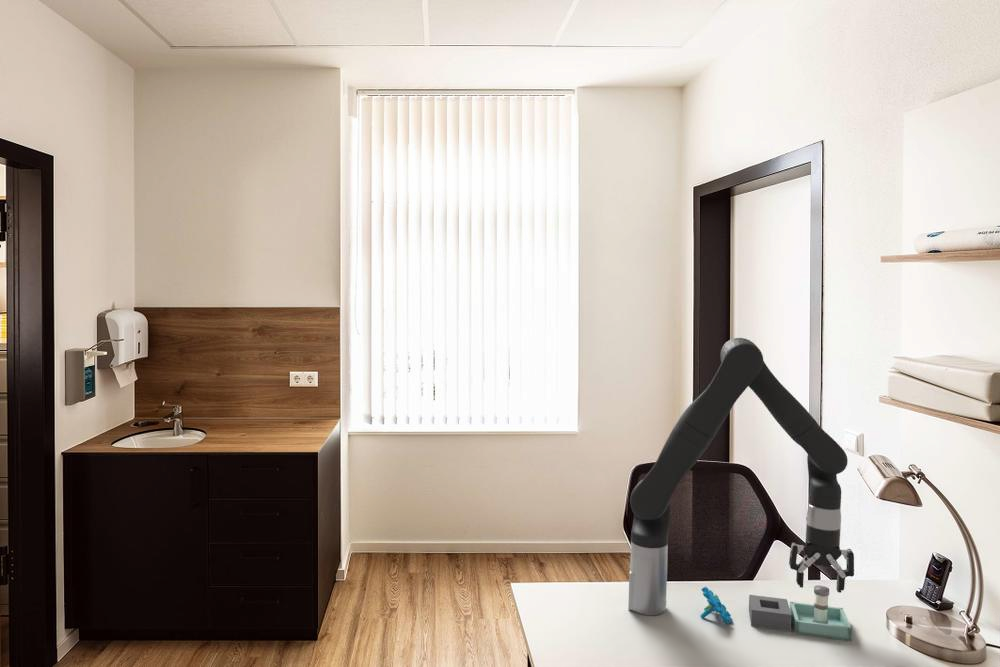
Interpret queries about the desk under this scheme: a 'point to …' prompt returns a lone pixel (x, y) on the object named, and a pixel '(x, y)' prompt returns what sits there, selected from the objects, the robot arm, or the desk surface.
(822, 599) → the cylinder
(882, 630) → the desk surface
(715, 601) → the blue plastic angular piece
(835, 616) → the parts tray
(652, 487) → the robot arm
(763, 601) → the block
